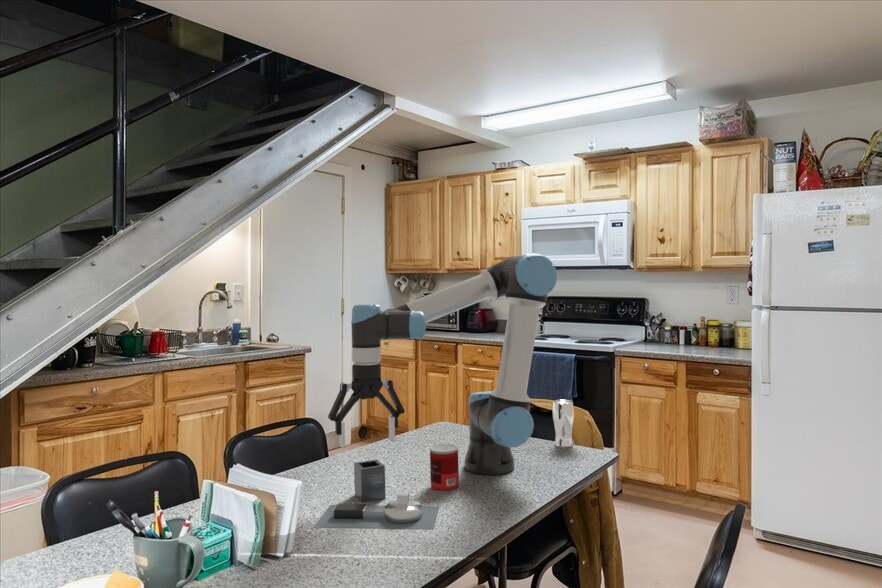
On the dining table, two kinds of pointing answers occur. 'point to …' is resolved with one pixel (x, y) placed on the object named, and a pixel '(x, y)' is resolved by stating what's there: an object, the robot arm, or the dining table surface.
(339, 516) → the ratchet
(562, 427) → the beer glass
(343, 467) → the dining table surface
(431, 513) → the mat
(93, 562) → the dining table surface
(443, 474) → the canned food
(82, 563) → the dining table surface
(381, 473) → the open square tube
